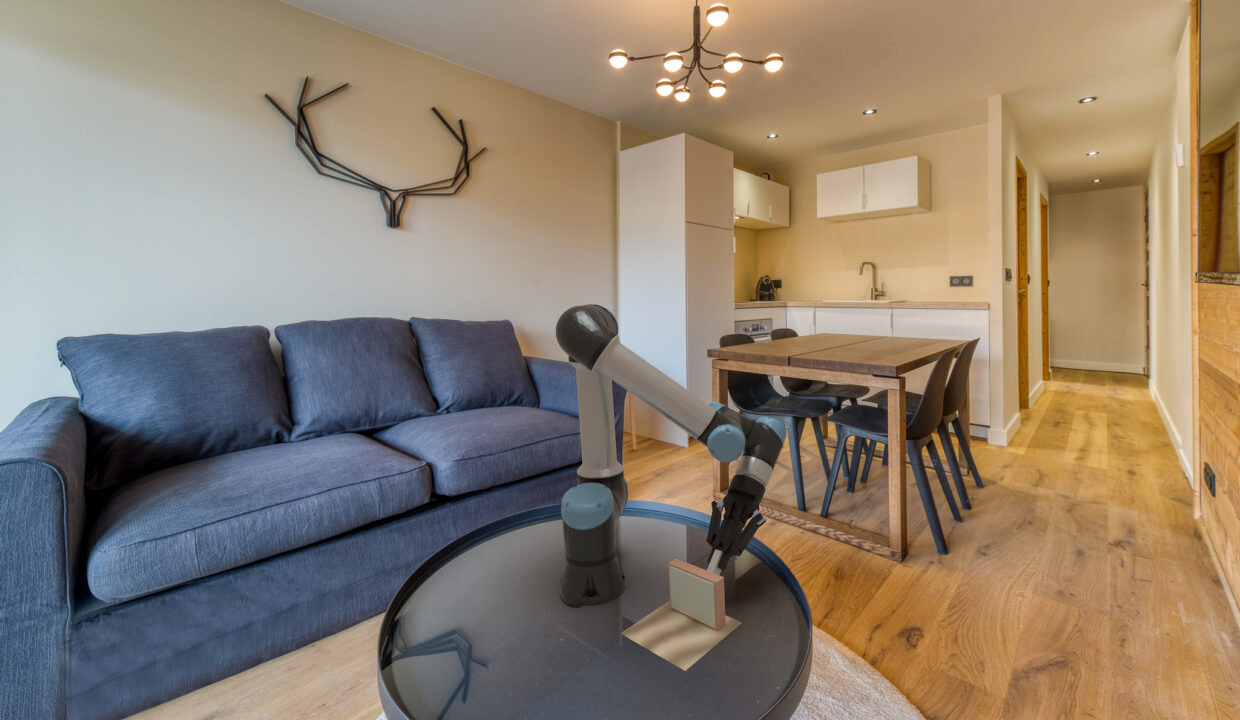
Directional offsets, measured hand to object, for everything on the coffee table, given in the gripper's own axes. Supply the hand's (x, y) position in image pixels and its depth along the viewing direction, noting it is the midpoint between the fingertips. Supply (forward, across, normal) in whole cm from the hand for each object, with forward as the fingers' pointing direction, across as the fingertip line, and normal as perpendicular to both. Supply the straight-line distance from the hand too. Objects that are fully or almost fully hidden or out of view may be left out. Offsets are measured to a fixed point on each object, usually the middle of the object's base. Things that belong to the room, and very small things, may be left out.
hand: (709, 582), depth 110 cm
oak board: (+11, 0, +2) cm, 11 cm away
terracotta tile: (+7, 0, -1) cm, 7 cm away
